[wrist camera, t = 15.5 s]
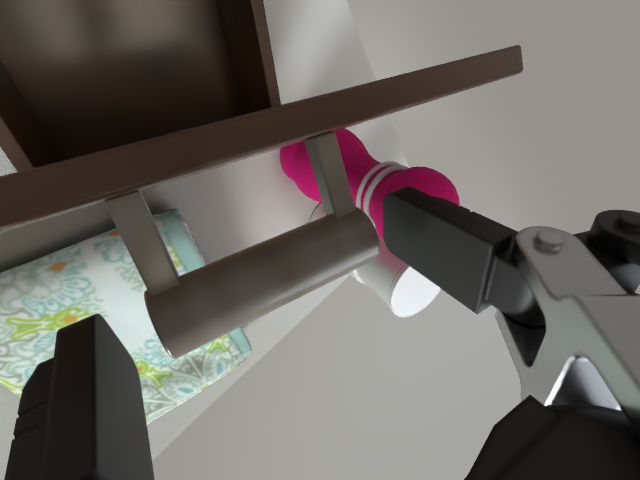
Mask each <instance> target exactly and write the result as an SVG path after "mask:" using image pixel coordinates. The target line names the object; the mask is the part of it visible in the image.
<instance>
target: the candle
mask: <svg viewBox="0 0 640 480" xmlns="http://www.w3.org/2000/svg"><path fill="white" fill-rule="evenodd" d="M324 216H326V213H325V210H324V206H323V203H320V204H319V205H318V206H317V207H316V209H315V210H314V212H313V214H312V217H311V220H310V222H312V221H314V220H317V219H319V218H322V217H324ZM375 229H376V227H375ZM376 232H377V230H376ZM377 235H378V239H379V254H378V256H377V258H376V259H375V260H373V261H371V262H369V263H367V264H365V265H363V266H361V267H359V268H357V269H355V270H353V271H351V272H349V273H350V274H351V275H352V276H353V277H354V278H355V279H356V280H357V281H359V282H360V283H362V284H366V285H368V286H369V287H370V288H371V289H372V290H373V291H374V292H375V293H376V294H378V295H379V296H380V297H381V298H382V299H383V300H384V301H385V302H386V303H388V305H389V307H390V310H391V311H392V312H393V313H394V314H396V315H397V316H400V317H408V316H411V315H414V314H416V313H417V312H419V311H421V310H422V309H423V308H425V307H426V306H427V305H428V304H429V303H430V302H431V301H432V300H433V299H434V298H435V296H436V295H437V293H438V292H439V291H440V289H441V288H440V287H438V286H437V285H435V284H434V283H433V282H431V281H430V280H428V279H427V278H425V277H424V276H423V275H421V274H420V273H418V272H417V271H416V270H414V269H413V268H411V267H410V266H409V265H407V264H406V263H404V262H403V261H402V260H400V259H399V258H397V257H396V256H395V255H393V254H392V253H391V252H390V251H389V250H388V248H387V247H386V245H385V242H384V240H383V239H382V238H381V237H380V236H379V234H378V233H377Z"/></svg>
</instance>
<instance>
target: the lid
mask: <svg viewBox="0 0 640 480" xmlns="http://www.w3.org/2000/svg"><path fill="white" fill-rule="evenodd" d="M522 71H523V63H522V54H521V47H520V45H516V46H512V47H508V48H504V49H500V50H496V51H492V52H488V53H485V54H480V55H477V56H472V57H468V58H464V59H461V60H457V61H453V62H449V63H445V64H441V65H437V66H433V67H429V68H425V69H421V70H417V71H414V72H410V73H405V74H401V75H398V76H394V77H390V78H386V79H382V80H378V81H374V82H370V83H366V84H362V85H358V86H354V87H350V88H346V89H342V90H339V91H335V92H331V93H327V94H323V95H319V96H315V97H311V98H307V99H303V100H299V101H295V102H291V103H287V104H283V105H280V106H276V107H272V108H268V109H264V110H260V111H256V112H252V113H248V114H244V115H240V116H236V117H232V118H228V119H225V120H221V121H217V122H213V123H209V124H205V125H201V126H197V127H193V128H189V129H185V130H181V131H177V132H173V133H169V134H166V135H162V136H158V137H154V138H150V139H146V140H142V141H138V142H134V143H130V144H126V145H122V146H118V147H114V148H110V149H107V150H103V151H99V152H95V153H91V154H87V155H83V156H79V157H75V158H71V159H67V160H63V161H59V162H55V163H51V164H48V165H44V166H40V167H36V168H32V169H28V170H24V171H20V172H16V173H12V174H8V175H4V176H0V233H3V232H6V231H9V230H13V229H16V228H19V227H23V226H26V225H29V224H33V223H36V222H39V221H43V220H46V219H49V218H53V217H56V216H59V215H63V214H66V213H69V212H72V211H76V210H79V209H82V208H85V207H89V206H92V205H95V204H99V203H102V202H105V205H106V207H107V209H108V211H109V213H110V215H111V217H112V219H113V221H114V223H115V225H116V227H117V229H118V231H119V233H120V235H121V237H122V239H123V241H124V243H125V245H126V247H127V249H128V251H129V254H130V256H131V258H132V260H133V262H134V264H135V266H136V268H137V270H138V272H139V274H140V276H141V278H142V280H143V282H144V284H145V286H146V288H147V290H146V291H145V292H144V300H145V305H146V308H147V311H148V314H149V317H150V320H151V322H152V325H153V327H154V329H155V332H156V334H157V336H158V338H159V340H160V342H161V344H162V345H163V347H164V349H165V350H166V352H167V353H168V355H169V356H170V357H171V358H173V359H177V358H179V357H181V356H183V355H185V354H187V353H189V352H191V351H193V350H195V349H197V348H199V347H201V346H203V345H205V344H207V343H209V342H211V341H213V340H215V339H217V338H219V337H221V336H223V335H225V334H227V333H229V332H231V331H233V330H235V329H237V328H239V327H241V326H243V325H245V324H247V323H249V322H251V321H253V320H255V319H257V318H259V317H261V316H263V315H265V314H267V313H269V312H271V311H273V310H275V309H277V308H279V307H281V306H283V305H285V304H287V303H289V302H291V301H293V300H295V299H297V298H299V297H301V296H303V295H305V294H307V293H309V292H311V291H313V290H315V289H317V288H319V287H321V286H323V285H325V284H327V283H329V282H331V281H333V280H335V279H337V278H339V277H341V276H343V275H345V274H347V273H349V272H351V271H353V270H355V269H357V268H359V267H361V266H363V265H365V264H367V263H369V262H371V261H373V260H375V259H376V258H377V256H378V254H379V239H378V235H377V232H376V229H375V227H374V225H373V223H372V222H371V220H370V218H369V217H368V216H367V215H366V213H365V212H364V211H362V210H361V209H360V208H358V207H355V205H354V201H353V198H352V194H351V190H350V186H349V182H348V179H347V175H346V171H345V167H344V164H343V160H342V156H341V152H340V149H339V145H338V141H337V137H336V133H335V132H334V131H336V130H339V129H343V128H346V127H349V126H352V125H355V124H359V123H362V122H365V121H368V120H372V119H375V118H378V117H381V116H384V115H388V114H391V113H394V112H397V111H400V110H404V109H407V108H410V107H413V106H416V105H420V104H422V103H426V102H429V101H432V100H436V99H439V98H442V97H445V96H448V95H451V94H455V93H458V92H461V91H464V90H467V89H471V88H474V87H477V86H481V85H484V84H487V83H490V82H493V81H497V80H500V79H503V78H506V77H509V76H513V75H516V74H519V73H521V72H522ZM304 140H305V145H306V149H307V152H308V155H309V159H310V162H311V166H312V169H313V172H314V176H315V179H316V183H317V186H318V189H319V193H320V196H321V200H322V203H323V206H324V210H325V213H326V216H324V217H322V218H319V219H317V220H314V221H312V222H310V223H307V224H305V225H302V226H300V227H297V228H295V229H293V230H290V231H288V232H285V233H283V234H280V235H278V236H276V237H273V238H271V239H268V240H266V241H263V242H261V243H259V244H256V245H254V246H251V247H249V248H246V249H244V250H241V251H239V252H237V253H234V254H232V255H229V256H227V257H224V258H222V259H220V260H217V261H215V262H212V263H210V264H207V265H205V266H203V267H200V268H198V269H195V270H193V271H190V272H188V273H186V274H183V275H181V276H179V274H178V272H177V269H176V267H175V265H174V263H173V261H172V258H171V256H170V254H169V252H168V250H167V247H166V245H165V243H164V241H163V239H162V236H161V234H160V232H159V230H158V228H157V225H156V223H155V221H154V219H153V217H152V214H151V212H150V210H149V208H148V206H147V203H146V201H145V199H144V197H143V195H142V192H141V190H144V189H148V188H151V187H154V186H157V185H161V184H164V183H167V182H170V181H174V180H177V179H180V178H184V177H187V176H190V175H193V174H197V173H200V172H203V171H206V170H210V169H213V168H216V167H219V166H223V165H226V164H229V163H233V162H236V161H239V160H242V159H246V158H249V157H252V156H255V155H259V154H262V153H265V152H268V151H272V150H275V149H278V148H282V147H285V146H288V145H291V144H295V143H298V142H301V141H304Z"/></svg>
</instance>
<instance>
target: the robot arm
mask: <svg viewBox="0 0 640 480" xmlns="http://www.w3.org/2000/svg"><path fill="white" fill-rule="evenodd" d="M383 239H384V242H385V245H386V247H387V248H388V250H389V251H390V252H391V253H392V254H393V255H395V256H396V257H397V258H399V259H400V260H402V261H403V262H404V263H406V264H407V265H409V266H410V267H411V268H413V269H414V270H416V271H417V272H418V273H420V274H421V275H423V276H424V277H425V278H427V279H428V280H430V281H431V282H433V283H434V284H435V285H437V286H438V287H440V288H441V289H443V290H444V291H445V292H447V293H448V294H449V295H451V296H452V297H454V298H455V299H457V300H458V301H459V302H461V303H462V304H463V305H465V306H466V307H468V308H469V309H471V310H472V311H473V312H475V313H476V314H479V313H480V312H482V311H483V310H485V309H486V308H488V307H489V306H491V305H493V306H494V307H496V308H497V309H496V314H495V317H496V320H497V323H498V325H499V328H500V330H501V332H502V335H503V337H504V340H505V342H506V345H507V347H508V349H509V352H510V354H511V357H512V360H513V362H514V364H515V367H516V369H517V372H518V374H519V377H520V383H521V403H520V404H519V405H517V406H516V407H515V408H514V409H513V410H512V411H510V412H509V413H508V414H507V415H506V416H505V417H504V418H502V419H501V420H500V421H499V422H498V423H497V424H495V425H494V427H493V429H492V430H491V432H490V434H489V436H488V438H487V440H486V442H485V444H484V446H483V448H482V449H481V451H480V453H479V455H478V457H477V459H476V461H475V463H474V465H473V467H472V468H471V470H470V472H469V474H468V475H467V477H466V478H465V479H464V480H640V294H637V293H635V290H636V289H637V287H638V285H639V284H640V213H637V212H632V211H625V210H608V211H603V212H601V213H599V214H598V215H597V216H596V217H595V220H594V222H593V225H592V227H591V229H590V231H587V232H582V233H578V234H574V235H572V234H570V233H567V232H565V231H563V230H559V229H556V228H551V227H543V226H535V227H528V228H525V229H522V230H520V231H519V232H517V231H515V230H513V229H511V228H509V227H506V226H504V225H502V224H500V223H497V222H495V221H493V220H490V219H489V218H486V217H484V216H482V215H480V214H477V213H475V212H470V210H468V209H466V208H464V207H462V206H460V207H459V206H458V205H457V204H455V203H453V202H451V201H449V200H446V199H444V198H440V197H435V196H431V195H428V194H426V193H424V192H422V191H420V190H418V189H415V188H413V187H411V186H405V187H402V188H400V189H398V190H395V191H393V192H390V193H388V194H386V195H385V196H384V198H383ZM621 409H622V411H620V410H621ZM18 415H19V418H17V419H16V424H15V429H14V434H13V435H14V436H15V439H14V440H12V444H11V449H10V454H9V459H8V464H7V470H6V475H5V480H154V473H153V466H152V459H151V452H150V445H149V438H148V431H147V424H146V417H145V410H144V403H143V396H142V389H141V382H140V377H139V373H138V370H137V367H136V365H135V363H134V360H133V359H132V357H131V355H130V354H129V352H128V351H127V349H126V348H125V347H124V345H123V344H122V342H121V341H120V340H119V338H118V337H117V336H116V334H115V333H114V331H113V330H112V329H111V327H110V326H109V324H108V323H107V322H106V320H105V319H104V318H103V317H102V316H101V315H100V314H98V313H97V314H94V315H92V316H89V317H87V318H85V319H82V320H80V321H77V322H75V323H73V324H70V325H68V326H65V327H63V328H61V329H59V330H58V331H57V334H56V342H55V350H54V357H53V358H51V359H48V360H46V361H44V362H42V363H39V364H38V365H37V367H36V368H35V370H34V372H33V373H32V375H31V376H30V378H29V380H28V381H27V383H26V384H25V386H24V388H23V389H22V394H21V399H20V404H19V409H18Z"/></svg>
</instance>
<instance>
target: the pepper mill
mask: <svg viewBox="0 0 640 480" xmlns="http://www.w3.org/2000/svg"><path fill="white" fill-rule="evenodd" d="M334 132H335V133H336V137H337V141H338V145H339V149H340V152H341V156H342V160H343V164H344V167H345V171H346V175H347V179H348V182H349V186H350V190H351V194H352V198H353V201H354V205H355V207H358V208H360V209H361V210H362V211H364V212H365V213H366V215H367V216H368V217H369V218H370V220H371V222H372V223H373V225H374V227H376V230H377V233H378V234H379V236H380V237H381V238H382V239H383V198H384V196H385V195H386V194H388V193H390V192H393V191H395V190H398V189H400V188H402V187H405V186H411V187H413V188H415V189H418V190H420V191H422V192H424V193H426V194H428V195H431V196H435V197H440V198H444V199H446V200H449V201H451V202H453V203H455V204H457V205H458V206H459V207H460V204H459V197H458V194H457V191H456V189H455V187H454V185H453V184H452V182H451V181H450V180H449V179H448V178H447V177H446V176H444V175H443V174H441V173H439V172H437V171H436V170H434V169H430V168H427V167H411V168H408V167H406V166H403V165H400V164H398V163H396V162H389V161H388V162H383V163H380V162H378V161H376V160H375V159H373V158H372V157H371V156H370V155H369V153H368V152H367V150H366V148H365V146H364V145H363V143H362V142H361V141H360V140H359V139H358V138H357V137H356V136H355V135H354V134H353V133H352V132H350V131H349V130H347V129H345V128H343V129H339V130H336V131H334ZM280 161H281V165H282V168H283V170H284V172H285V173H286V175H287V176H288V177H289V178H291V179H292V180H294V181H295V183H296V184H297V186H298V188H299V189H300V190H301V191H302V192H303V193H304V194H305V195H306V196H308V197H309V198H311V199H313V200H315V201H318V202H321V203H322V200H321V196H320V193H319V189H318V186H317V183H316V179H315V176H314V172H313V169H312V166H311V162H310V159H309V155H308V152H307V149H306V145H305V140H304V141H301V142H298V143H295V144H291V145H288V146H285V147H282V148H281V152H280ZM383 240H384V239H383Z"/></svg>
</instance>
